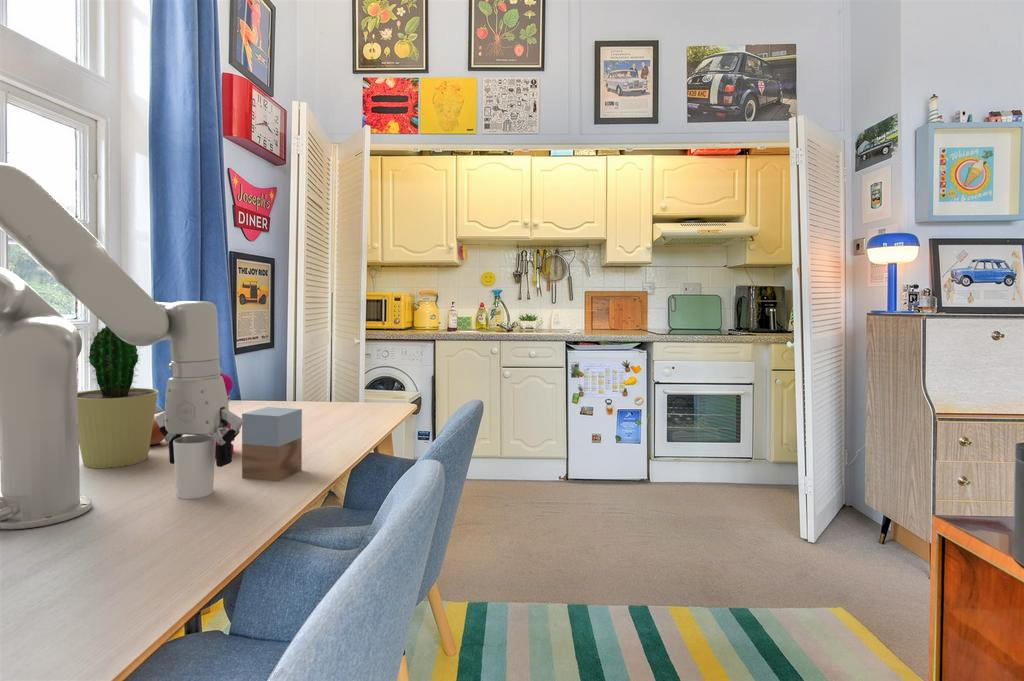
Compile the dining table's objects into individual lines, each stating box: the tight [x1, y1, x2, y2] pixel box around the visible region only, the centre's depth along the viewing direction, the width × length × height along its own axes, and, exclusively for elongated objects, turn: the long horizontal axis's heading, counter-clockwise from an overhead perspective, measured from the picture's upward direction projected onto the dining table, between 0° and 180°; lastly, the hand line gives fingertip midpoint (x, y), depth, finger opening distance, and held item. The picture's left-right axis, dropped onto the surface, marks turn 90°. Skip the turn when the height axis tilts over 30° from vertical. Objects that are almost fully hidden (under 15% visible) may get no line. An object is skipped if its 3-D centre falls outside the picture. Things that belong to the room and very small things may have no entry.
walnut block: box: [241, 437, 303, 483], centre depth 112 cm, size 8×8×7 cm
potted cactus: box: [78, 325, 159, 469], centre depth 117 cm, size 15×15×30 cm
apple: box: [150, 415, 165, 446], centre depth 132 cm, size 8×8×8 cm
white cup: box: [173, 435, 216, 500], centre depth 99 cm, size 7×7×10 cm
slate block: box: [241, 406, 303, 447], centre depth 111 cm, size 8×8×6 cm
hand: (201, 463), depth 100 cm, fingers open, 9 cm apart
